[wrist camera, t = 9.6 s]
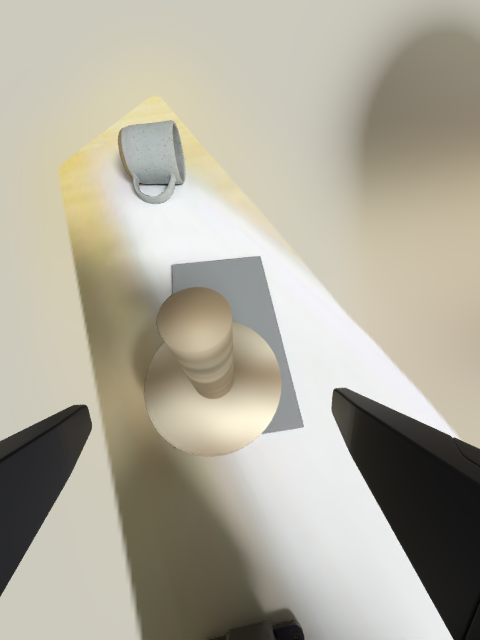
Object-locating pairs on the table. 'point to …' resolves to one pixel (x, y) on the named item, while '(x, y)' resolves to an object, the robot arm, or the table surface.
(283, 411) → the slate mat
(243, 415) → the birch lid
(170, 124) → the ceramic mug
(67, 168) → the table surface
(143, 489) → the table surface
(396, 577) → the table surface
